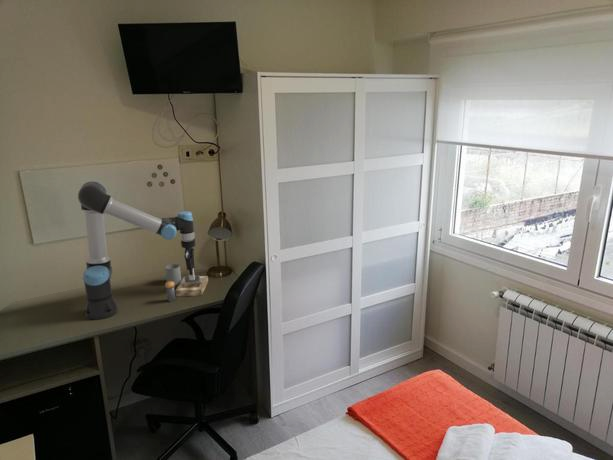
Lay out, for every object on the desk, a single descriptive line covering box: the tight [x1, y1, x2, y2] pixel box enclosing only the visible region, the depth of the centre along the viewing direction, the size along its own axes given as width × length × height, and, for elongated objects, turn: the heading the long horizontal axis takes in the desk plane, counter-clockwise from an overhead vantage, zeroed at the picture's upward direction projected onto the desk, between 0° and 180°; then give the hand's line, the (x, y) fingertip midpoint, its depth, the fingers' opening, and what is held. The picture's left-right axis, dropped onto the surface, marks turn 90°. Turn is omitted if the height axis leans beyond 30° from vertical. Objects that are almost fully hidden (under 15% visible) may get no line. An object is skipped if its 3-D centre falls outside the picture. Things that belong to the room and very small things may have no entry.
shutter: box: [180, 275, 204, 285], centre depth 258 cm, size 12×7×3 cm, turn 92°
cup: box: [164, 263, 182, 286], centre depth 267 cm, size 8×8×10 cm
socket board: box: [175, 275, 209, 297], centre depth 258 cm, size 14×20×4 cm
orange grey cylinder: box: [164, 281, 177, 303], centre depth 242 cm, size 5×5×10 cm
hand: (192, 279), depth 257 cm, fingers closed
